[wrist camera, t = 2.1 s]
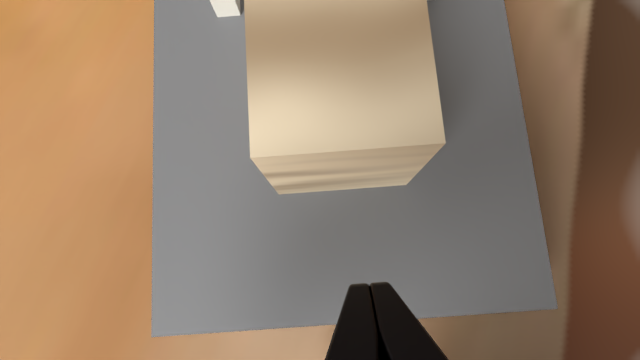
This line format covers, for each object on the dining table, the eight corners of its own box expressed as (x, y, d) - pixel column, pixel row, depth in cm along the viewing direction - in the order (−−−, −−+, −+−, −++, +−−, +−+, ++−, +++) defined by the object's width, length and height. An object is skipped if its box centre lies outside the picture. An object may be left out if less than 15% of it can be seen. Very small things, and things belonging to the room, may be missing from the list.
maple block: (406, 185, 20) (445, 143, 13) (278, 194, 20) (250, 158, 13) (388, 30, 21) (415, -82, 14) (270, 39, 21) (241, -67, 14)
